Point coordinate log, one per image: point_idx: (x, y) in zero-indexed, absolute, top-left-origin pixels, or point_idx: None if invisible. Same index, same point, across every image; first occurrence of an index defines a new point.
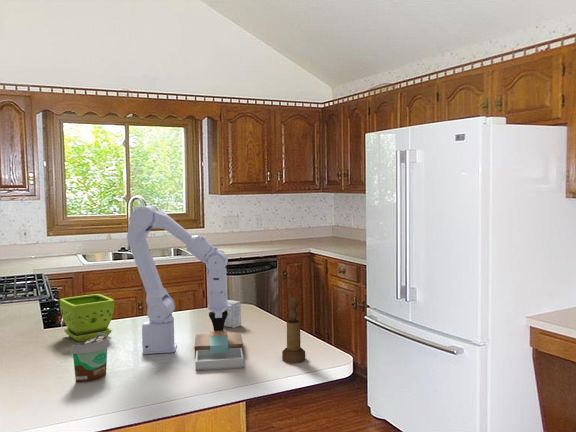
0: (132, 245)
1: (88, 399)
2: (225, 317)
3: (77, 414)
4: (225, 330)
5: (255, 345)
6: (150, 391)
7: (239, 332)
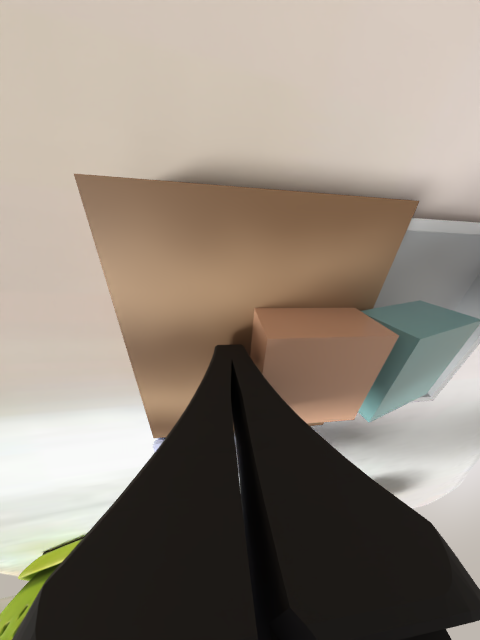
0: None
1: (414, 479)
2: (408, 517)
3: (453, 475)
4: (266, 348)
5: (181, 59)
6: (451, 431)
7: (83, 190)
